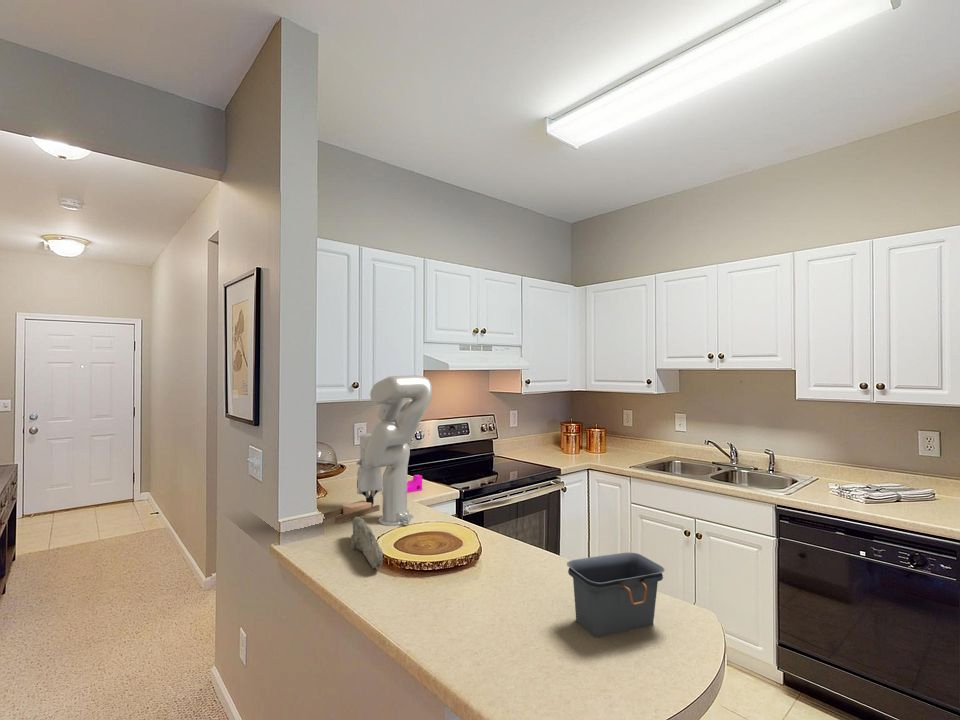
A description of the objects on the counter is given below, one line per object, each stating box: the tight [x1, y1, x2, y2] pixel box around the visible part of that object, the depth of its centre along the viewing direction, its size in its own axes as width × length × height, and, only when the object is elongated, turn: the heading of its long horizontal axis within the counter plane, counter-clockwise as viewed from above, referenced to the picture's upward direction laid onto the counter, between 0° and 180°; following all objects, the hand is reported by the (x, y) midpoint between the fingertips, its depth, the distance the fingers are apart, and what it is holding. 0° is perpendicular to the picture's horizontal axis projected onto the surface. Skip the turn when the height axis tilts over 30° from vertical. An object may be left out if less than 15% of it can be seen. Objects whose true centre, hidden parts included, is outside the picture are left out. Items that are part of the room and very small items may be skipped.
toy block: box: [407, 474, 423, 494], centre depth 239 cm, size 15×6×8 cm, turn 125°
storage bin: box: [566, 552, 665, 639], centre depth 117 cm, size 21×16×14 cm
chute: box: [323, 504, 380, 525], centre depth 202 cm, size 10×22×2 cm, turn 143°
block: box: [342, 499, 372, 515], centre depth 205 cm, size 6×10×4 cm, turn 140°
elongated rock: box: [350, 516, 384, 570], centre depth 160 cm, size 35×5×10 cm, turn 28°
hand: (369, 506), depth 209 cm, fingers closed
